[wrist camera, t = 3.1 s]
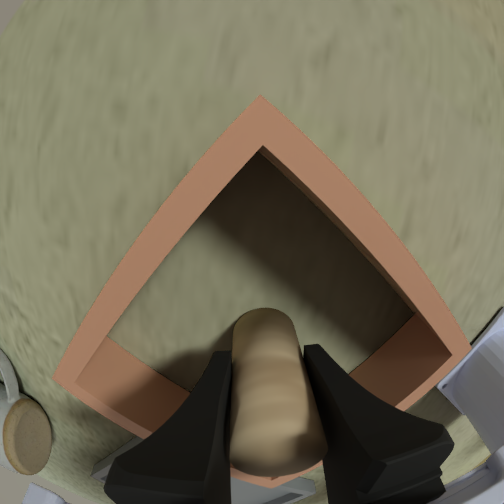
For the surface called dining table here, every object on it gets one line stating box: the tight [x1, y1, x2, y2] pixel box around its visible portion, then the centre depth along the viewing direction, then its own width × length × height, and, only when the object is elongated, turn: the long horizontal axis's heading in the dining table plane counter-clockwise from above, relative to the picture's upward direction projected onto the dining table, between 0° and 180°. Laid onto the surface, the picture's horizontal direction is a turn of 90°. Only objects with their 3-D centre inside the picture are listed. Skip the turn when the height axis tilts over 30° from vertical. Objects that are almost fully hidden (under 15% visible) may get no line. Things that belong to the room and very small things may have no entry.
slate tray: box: [91, 436, 316, 504], centre depth 19 cm, size 16×14×2 cm
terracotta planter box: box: [52, 95, 472, 489], centre depth 12 cm, size 14×14×4 cm
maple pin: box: [229, 308, 328, 477], centre depth 10 cm, size 3×3×7 cm
